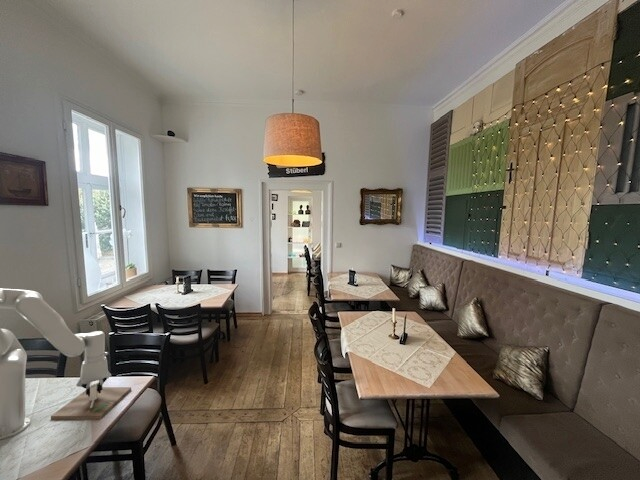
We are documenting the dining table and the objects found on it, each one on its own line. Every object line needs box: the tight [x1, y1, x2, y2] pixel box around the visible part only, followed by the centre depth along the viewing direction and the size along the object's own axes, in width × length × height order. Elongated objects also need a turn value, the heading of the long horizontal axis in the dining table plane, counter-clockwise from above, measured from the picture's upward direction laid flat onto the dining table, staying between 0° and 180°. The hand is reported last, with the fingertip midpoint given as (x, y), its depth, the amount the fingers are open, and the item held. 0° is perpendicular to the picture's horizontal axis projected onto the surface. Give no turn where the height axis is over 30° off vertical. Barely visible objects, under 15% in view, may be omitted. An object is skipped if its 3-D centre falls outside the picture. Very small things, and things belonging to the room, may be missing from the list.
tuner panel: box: [50, 386, 132, 420], centre depth 131 cm, size 22×21×2 cm
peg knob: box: [90, 380, 99, 408], centre depth 130 cm, size 12×3×7 cm, turn 33°
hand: (94, 393), depth 132 cm, fingers closed on peg knob, 3 cm apart
